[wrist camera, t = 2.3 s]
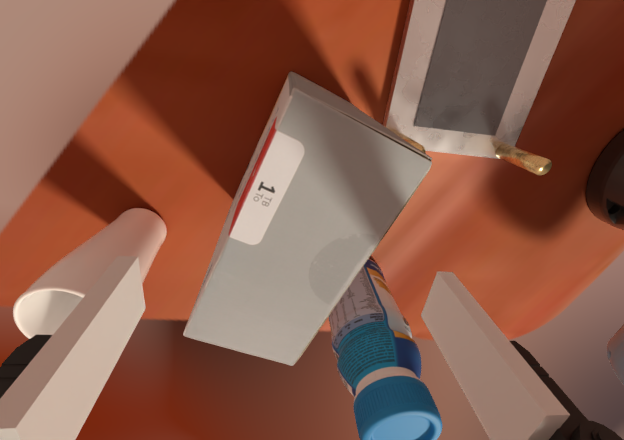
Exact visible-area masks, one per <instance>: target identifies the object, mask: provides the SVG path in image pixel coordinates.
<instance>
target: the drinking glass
mask: <svg viewBox="0 0 624 440" xmlns="http://www.w3.org/2000/svg"><path fill="white" fill-rule="evenodd" d="M166 234H167V229H166V225H165V223H164V221H163V220H162V219H161V217H160V216H159V215H157V214H156V213H154V212H153V211H151V210H148V209H144V208H132V209H129V210H127V211H125V212H123V213H122V214H121V215H120V216H119V217H118V218H116V219H115V220H114V221H113V222H111V223H110V224H109V225H107V226H106V227H105V228H103V229H102V230H100V231H99V232H98V233H96V234H95V235H94V236H92V237H91V238H89V239H88V240H87V241H85V242H84V243H82V244H81V245H80V246H78V247H77V248H75V249H74V250H73V251H71V252H70V253H68V254H67V255H66V256H64V257H63V258H62V259H60V260H59V261H58V262H56V263H55V264H54V265H53V266H52V267H50V268H49V269H48V270H47V271H46V272H45V273H44V274H42V275H41V276H40V277H39V278H38V279H37V280H36V281H35V282H34V283H33V284H32V285H31V286H30V287H29V288H28V289H27V290H26V291H25V292H24V293H23V294H22V295H21V296H20V297H19V298H18V299H17V301H16V302H15V304H14V307H13V316H14V320H15V323H16V325H17V327H18V328H19V329H20V331H21V332H22V333H23V334H24V335H25V336H26V337H27V338H29V339H30V338H32V337H33V336H35V335H53V334H54V333H55V332H56V330H57V329H58V328H59V327H60V325H61V324H62V323H63V322H64V321H65V319H66V318H67V317H68V316H69V314H70V313H71V312H72V311H73V310H74V308H75V307H76V306H77V305H78V304H79V302H80V301H81V300H82V299H83V297H84V296H85V295H86V294H87V293H88V291H89V290H90V289H91V288H92V287H93V285H94V284H95V283H96V282H97V280H98V279H99V278H100V277H101V276H102V274H103V273H104V272H105V271H106V269H107V268H108V267H109V266H110V265H111V263H112V262H113V261H114V260H115V259H116V257H117V256H132V257H138V260H139V267H140V274H141V280H142V284H143V282H144V280H145V278H146V275H147V273H148V271H149V269H150V267H151V265H152V263H153V261H154V259H155V256H156V254H157V252H158V250H159V248H160V247H161V245H162V244H163V242H164V240H165V238H166Z"/></svg>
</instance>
